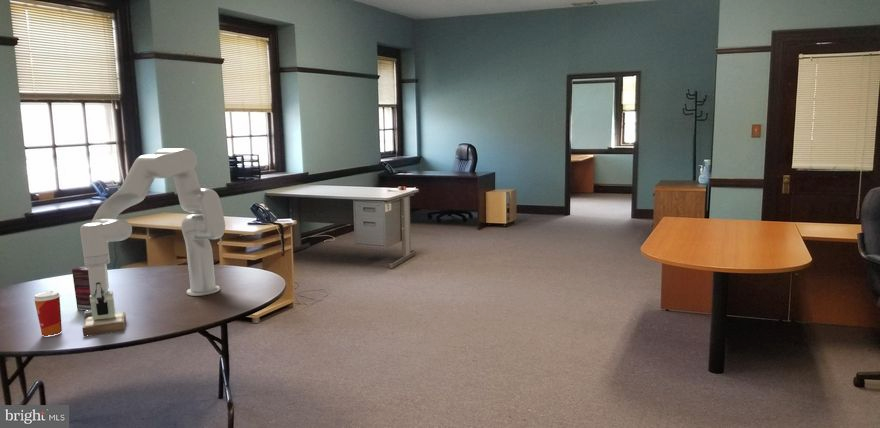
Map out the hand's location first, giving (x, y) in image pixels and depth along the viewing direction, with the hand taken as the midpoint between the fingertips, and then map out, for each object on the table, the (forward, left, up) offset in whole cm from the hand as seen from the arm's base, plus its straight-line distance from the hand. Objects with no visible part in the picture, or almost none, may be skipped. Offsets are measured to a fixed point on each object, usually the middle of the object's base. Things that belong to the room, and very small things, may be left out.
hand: (103, 311), depth 214 cm
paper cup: (-2, -16, -6) cm, 17 cm away
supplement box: (-28, -7, -6) cm, 29 cm away
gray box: (-11, -4, -6) cm, 13 cm away
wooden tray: (0, 0, -6) cm, 6 cm away
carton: (0, 0, -2) cm, 2 cm away
